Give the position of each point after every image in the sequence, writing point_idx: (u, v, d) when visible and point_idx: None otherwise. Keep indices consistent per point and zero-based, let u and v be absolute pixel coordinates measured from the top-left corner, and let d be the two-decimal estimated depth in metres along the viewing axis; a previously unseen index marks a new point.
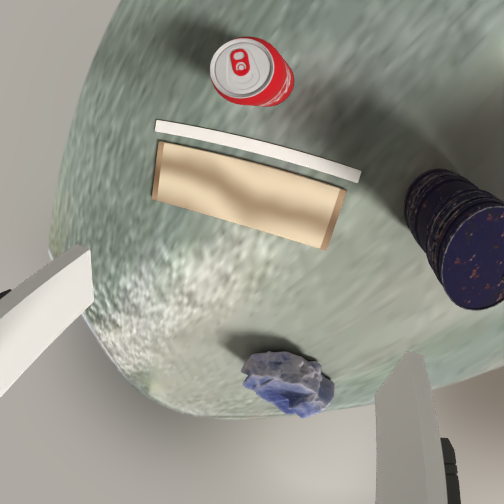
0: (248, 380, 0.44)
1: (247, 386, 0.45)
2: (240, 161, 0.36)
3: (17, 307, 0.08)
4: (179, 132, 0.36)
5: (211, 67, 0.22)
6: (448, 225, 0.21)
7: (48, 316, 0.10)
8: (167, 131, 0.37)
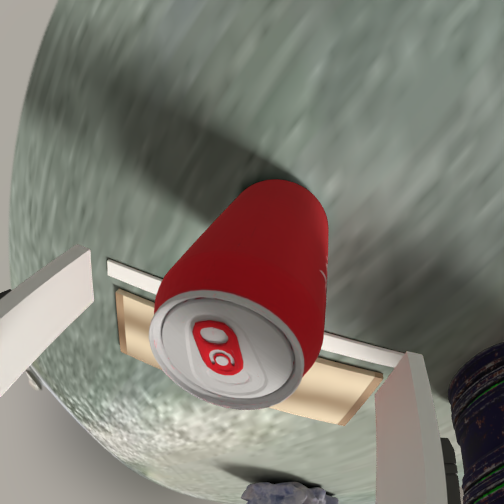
0: None
1: None
2: None
3: (17, 307, 0.08)
4: (142, 285, 0.25)
5: (153, 341, 0.10)
6: (496, 497, 0.10)
7: (48, 316, 0.10)
8: (125, 279, 0.25)
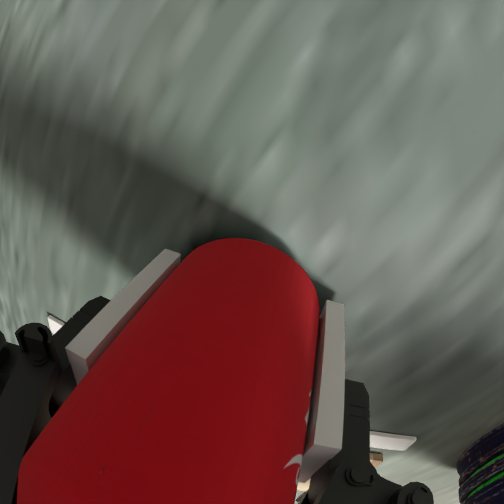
0: None
1: None
2: None
3: (126, 315, 0.09)
4: None
5: None
6: None
7: None
8: None
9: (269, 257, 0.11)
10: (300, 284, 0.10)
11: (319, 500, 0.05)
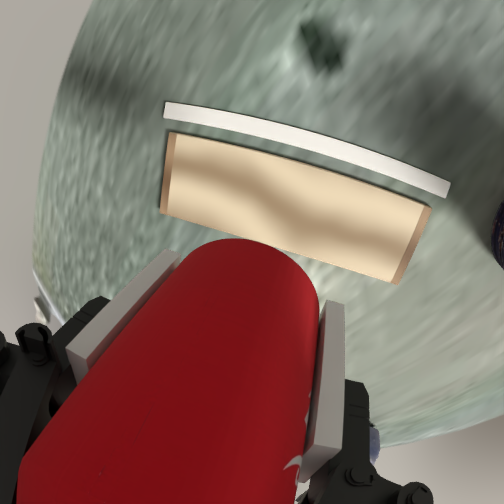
0: None
1: None
2: (290, 162, 0.25)
3: (126, 315, 0.09)
4: (199, 119, 0.25)
5: None
6: None
7: None
8: (181, 118, 0.25)
9: (269, 258, 0.10)
10: (300, 285, 0.10)
11: (319, 500, 0.05)
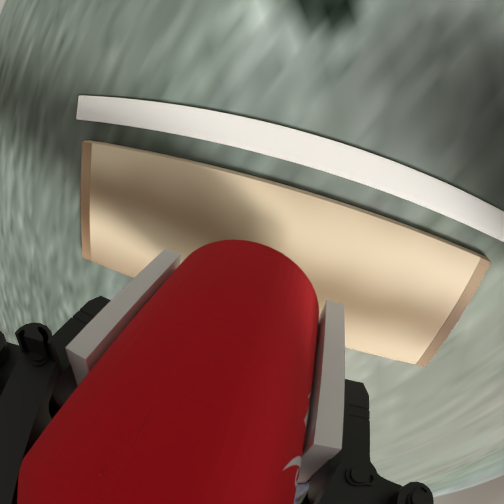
0: None
1: None
2: (265, 185, 0.14)
3: (126, 315, 0.09)
4: (121, 117, 0.15)
5: None
6: None
7: None
8: (98, 117, 0.15)
9: (268, 259, 0.10)
10: (299, 286, 0.10)
11: (319, 500, 0.05)
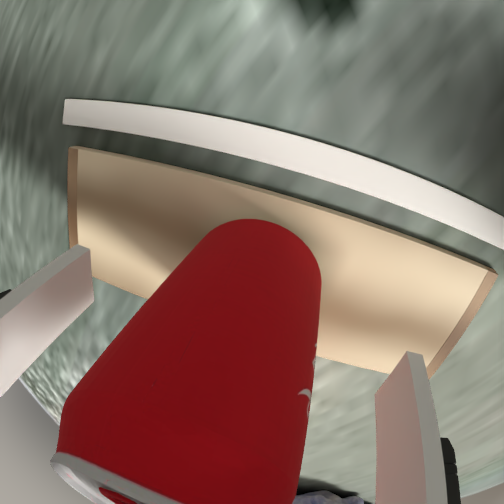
0: None
1: None
2: (258, 194, 0.14)
3: (17, 307, 0.08)
4: (107, 122, 0.14)
5: (65, 474, 0.05)
6: None
7: (48, 316, 0.10)
8: (84, 122, 0.14)
9: (278, 233, 0.12)
10: (305, 257, 0.12)
11: None
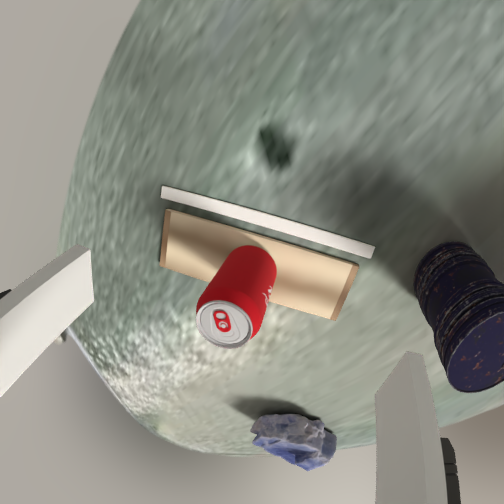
0: (257, 440, 0.44)
1: (257, 444, 0.45)
2: (252, 235, 0.36)
3: (17, 307, 0.08)
4: (187, 201, 0.36)
5: (197, 319, 0.27)
6: (459, 326, 0.21)
7: (48, 316, 0.10)
8: (174, 199, 0.37)
9: (259, 251, 0.35)
10: (268, 259, 0.35)
11: None
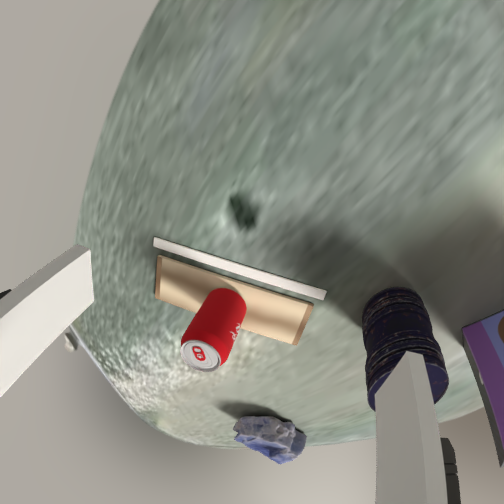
0: (238, 437, 0.54)
1: (238, 440, 0.55)
2: (226, 280, 0.45)
3: (17, 307, 0.08)
4: (174, 250, 0.45)
5: (181, 351, 0.36)
6: (377, 369, 0.30)
7: (48, 316, 0.10)
8: (164, 248, 0.45)
9: (231, 293, 0.44)
10: (238, 300, 0.43)
11: None
